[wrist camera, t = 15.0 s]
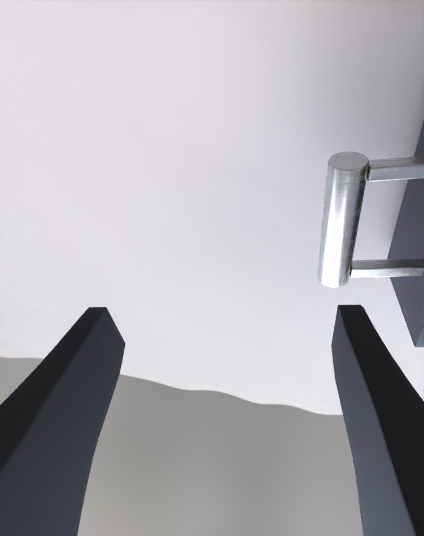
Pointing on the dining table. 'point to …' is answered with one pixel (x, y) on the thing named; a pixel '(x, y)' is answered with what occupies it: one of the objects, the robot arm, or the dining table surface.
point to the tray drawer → (404, 239)
